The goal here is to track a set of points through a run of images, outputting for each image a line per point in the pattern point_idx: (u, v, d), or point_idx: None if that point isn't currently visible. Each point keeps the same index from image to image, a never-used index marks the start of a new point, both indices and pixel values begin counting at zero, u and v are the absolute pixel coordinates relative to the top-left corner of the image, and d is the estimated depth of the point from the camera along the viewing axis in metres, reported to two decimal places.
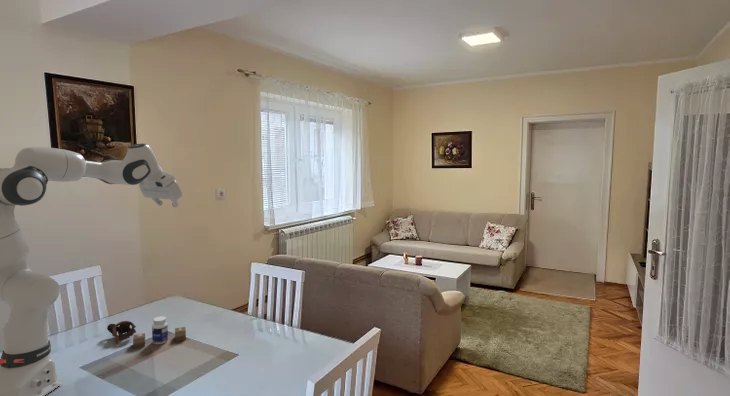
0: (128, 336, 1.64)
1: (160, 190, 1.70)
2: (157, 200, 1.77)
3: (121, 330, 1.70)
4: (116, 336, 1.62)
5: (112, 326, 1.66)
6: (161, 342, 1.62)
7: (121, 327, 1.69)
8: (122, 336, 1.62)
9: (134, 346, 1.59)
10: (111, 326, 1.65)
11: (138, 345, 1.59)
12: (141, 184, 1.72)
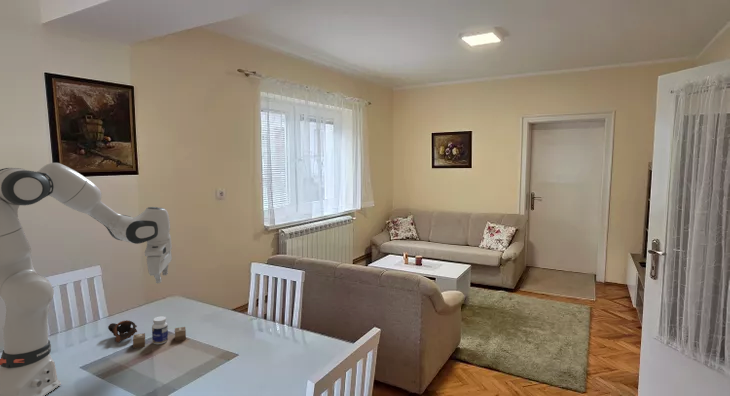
0: (129, 335, 1.64)
1: None
2: (165, 269, 1.69)
3: (122, 330, 1.70)
4: (117, 336, 1.62)
5: (113, 326, 1.66)
6: (161, 342, 1.62)
7: (122, 327, 1.70)
8: (123, 336, 1.62)
9: (134, 346, 1.59)
10: (112, 326, 1.66)
11: (138, 345, 1.59)
12: None
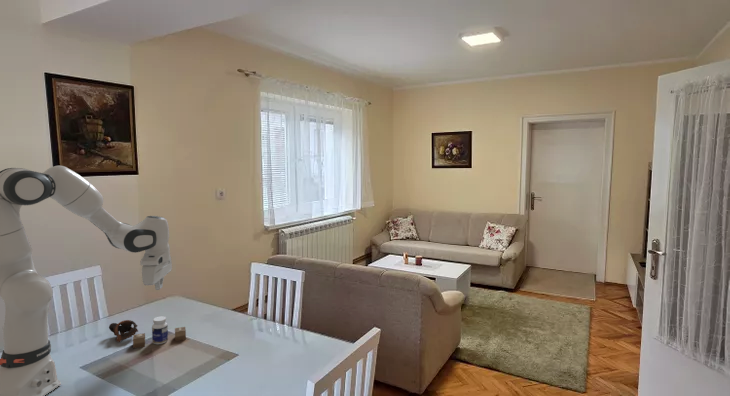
0: (130, 335, 1.64)
1: None
2: (159, 282, 1.63)
3: (123, 329, 1.70)
4: (118, 335, 1.63)
5: (114, 325, 1.66)
6: (161, 342, 1.62)
7: (123, 326, 1.70)
8: (124, 335, 1.63)
9: (134, 346, 1.59)
10: (113, 325, 1.66)
11: (138, 345, 1.59)
12: None
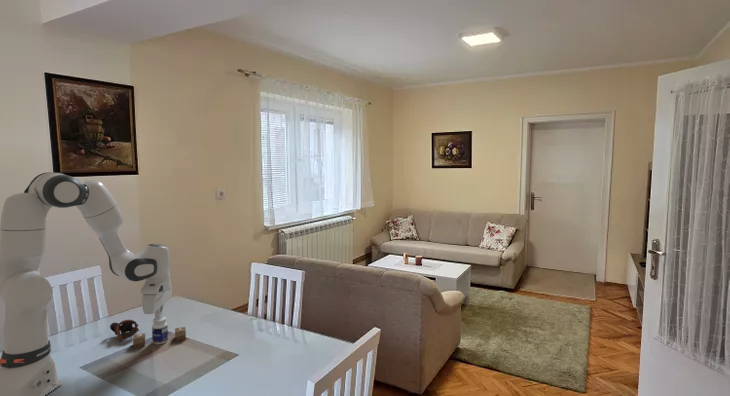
0: (131, 335, 1.65)
1: None
2: (159, 309, 1.64)
3: (124, 329, 1.71)
4: (119, 335, 1.63)
5: (115, 325, 1.67)
6: (161, 342, 1.62)
7: (124, 326, 1.70)
8: (125, 335, 1.63)
9: (134, 346, 1.59)
10: (114, 325, 1.67)
11: (138, 345, 1.59)
12: None
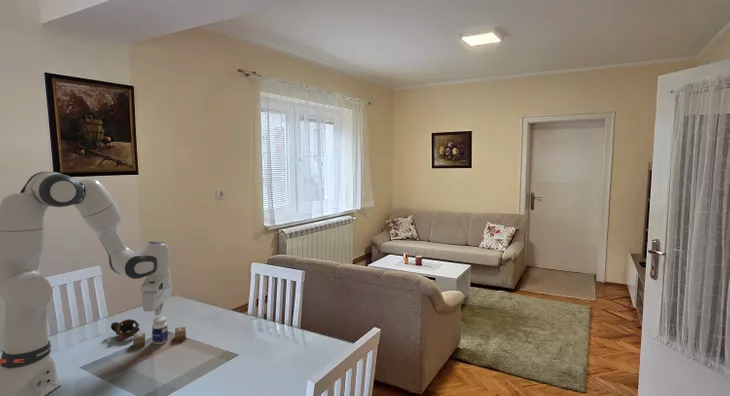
0: (132, 334, 1.65)
1: None
2: (159, 307, 1.64)
3: (124, 328, 1.71)
4: (120, 334, 1.64)
5: (116, 325, 1.67)
6: (161, 342, 1.62)
7: (124, 325, 1.71)
8: (126, 334, 1.64)
9: (134, 346, 1.59)
10: (115, 325, 1.67)
11: (138, 345, 1.59)
12: None
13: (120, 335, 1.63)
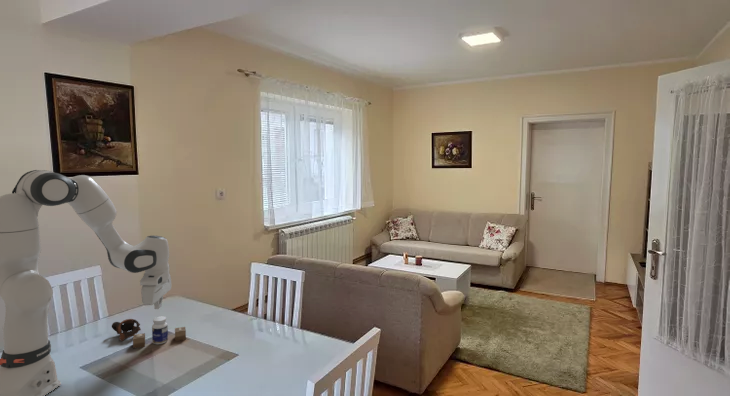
0: (133, 334, 1.66)
1: None
2: (159, 301, 1.64)
3: (125, 328, 1.71)
4: (121, 334, 1.64)
5: (117, 324, 1.67)
6: (161, 342, 1.62)
7: (125, 325, 1.71)
8: (127, 334, 1.64)
9: (134, 346, 1.59)
10: (116, 324, 1.67)
11: (138, 345, 1.59)
12: None
13: (121, 335, 1.64)
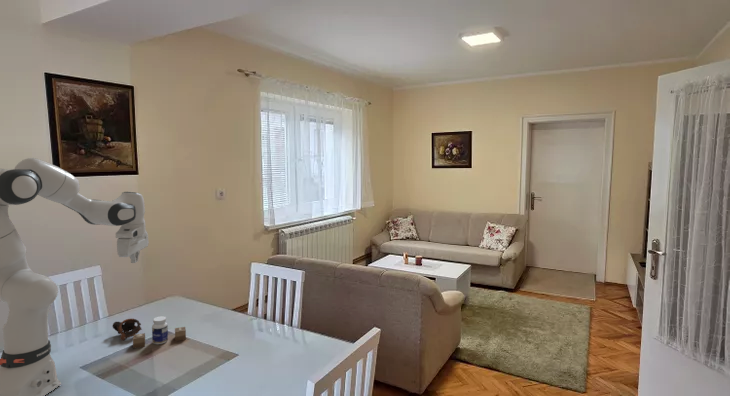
0: (134, 333, 1.66)
1: None
2: (135, 256, 1.70)
3: (126, 328, 1.72)
4: (122, 333, 1.64)
5: (117, 324, 1.68)
6: (161, 342, 1.62)
7: (126, 325, 1.71)
8: (128, 333, 1.65)
9: (134, 346, 1.59)
10: (116, 324, 1.68)
11: (138, 345, 1.59)
12: None
13: (122, 334, 1.64)
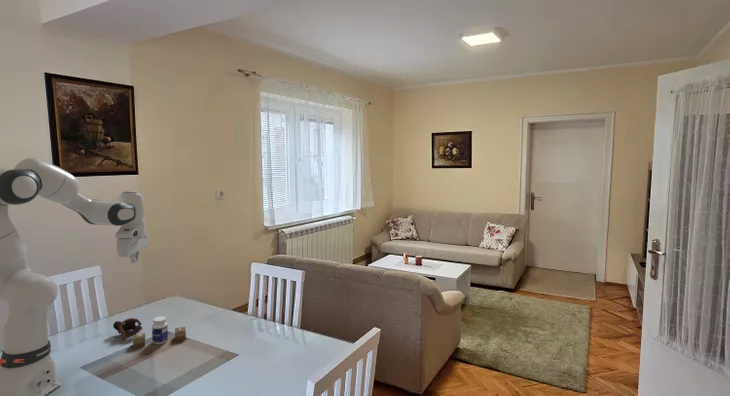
0: (135, 333, 1.66)
1: None
2: (135, 256, 1.70)
3: (127, 327, 1.72)
4: (123, 333, 1.65)
5: (118, 323, 1.68)
6: (161, 342, 1.62)
7: (127, 324, 1.72)
8: (129, 333, 1.65)
9: (134, 346, 1.59)
10: (117, 323, 1.68)
11: (138, 345, 1.59)
12: None
13: (123, 334, 1.65)
